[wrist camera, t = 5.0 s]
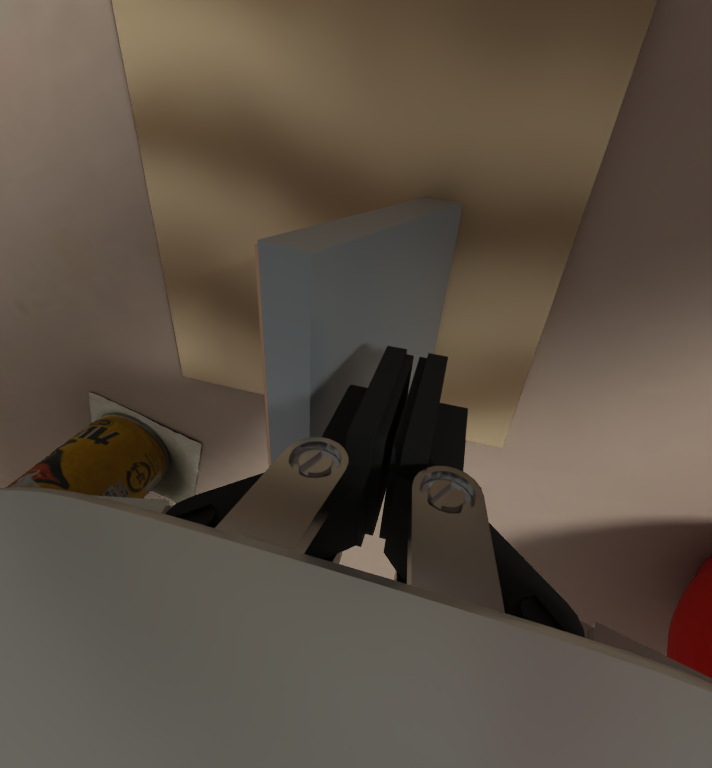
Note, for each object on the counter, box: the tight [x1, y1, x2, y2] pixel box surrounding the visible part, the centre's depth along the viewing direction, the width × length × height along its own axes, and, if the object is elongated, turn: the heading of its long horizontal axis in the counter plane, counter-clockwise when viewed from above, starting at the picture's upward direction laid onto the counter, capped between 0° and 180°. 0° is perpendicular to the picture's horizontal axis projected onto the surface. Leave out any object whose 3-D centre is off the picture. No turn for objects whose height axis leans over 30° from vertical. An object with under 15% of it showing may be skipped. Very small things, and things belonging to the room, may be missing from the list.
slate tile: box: [254, 197, 463, 467], centre depth 14 cm, size 8×2×9 cm, turn 176°
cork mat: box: [112, 0, 658, 448], centre depth 17 cm, size 22×18×1 cm
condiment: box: [6, 392, 202, 503], centre depth 25 cm, size 7×8×12 cm
